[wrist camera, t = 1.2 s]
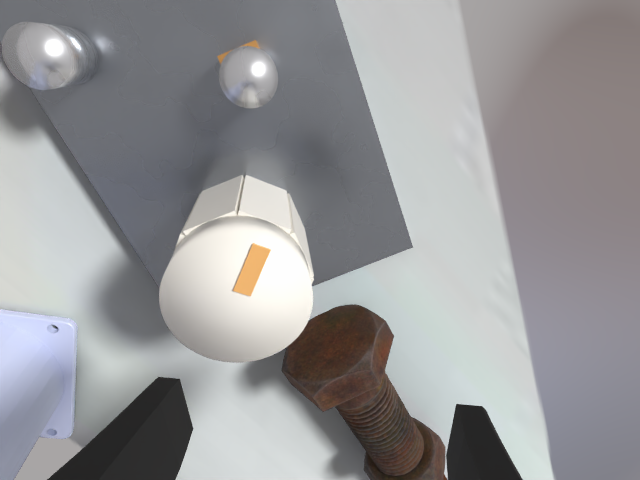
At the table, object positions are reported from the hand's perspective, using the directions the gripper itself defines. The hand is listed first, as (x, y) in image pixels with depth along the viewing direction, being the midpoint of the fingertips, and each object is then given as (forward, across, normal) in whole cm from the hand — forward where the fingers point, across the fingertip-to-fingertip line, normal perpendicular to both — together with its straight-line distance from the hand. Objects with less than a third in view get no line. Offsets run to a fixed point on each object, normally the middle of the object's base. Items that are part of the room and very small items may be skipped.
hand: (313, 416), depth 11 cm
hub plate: (+10, +5, -4) cm, 12 cm away
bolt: (+11, -2, +12) cm, 17 cm away
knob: (+9, +4, 0) cm, 10 cm away
